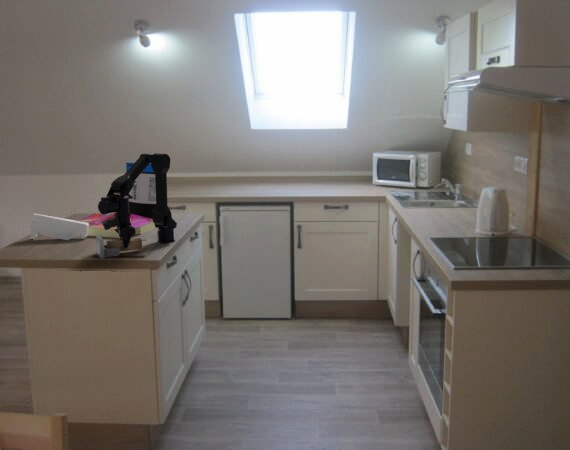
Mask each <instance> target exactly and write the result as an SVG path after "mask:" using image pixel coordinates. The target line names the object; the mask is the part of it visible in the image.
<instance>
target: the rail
mask: <svg viewBox="0 0 570 450" xmlns="http://www.w3.org/2000/svg"><path fill="white" fill-rule="evenodd" d="M105 245H107V248H115V247H119V248H120V252H128V251H129V252H130V251H136V250H139V251H140V250H143V239H142V238H141V237H138V238H131V239H130V242H129V244H128V247H127V248H124V245H123V241H122V240H120V239H117V240H115V239H113V240H106V244H105Z"/></svg>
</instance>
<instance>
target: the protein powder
mask: <svg viewBox="0 0 570 450" xmlns="http://www.w3.org/2000/svg"><path fill="white" fill-rule="evenodd" d="M134 163H135V162H125V165H126V166H125V169H126V172H127V171H128V170H129V169H130V168H131V166H132V165H133V164H134ZM126 172H125V173H126ZM129 194H130V195H131V196H132V197H133V198H132V199H129V212H130V213H131V214H133V216H134V215H135V217H136V215H138V216H142V217H143V218H145V217H146V219H147V218H148V219H149V218H152V213H151V211H152V210H154V209H155V207H156V185H155V173H154V171H153V169H152V167H151V163H150V164H149V165H148V166H147V167H146V168H145V169H144V171H143V172H142V173H141V174H140V175H139V176H138V178H137V179H136V180H135V181H134V184H133V188H132V189H131V191H130V193H129ZM138 216H137V217H138ZM142 217H141V218H142ZM132 218H133V217H132Z"/></svg>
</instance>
